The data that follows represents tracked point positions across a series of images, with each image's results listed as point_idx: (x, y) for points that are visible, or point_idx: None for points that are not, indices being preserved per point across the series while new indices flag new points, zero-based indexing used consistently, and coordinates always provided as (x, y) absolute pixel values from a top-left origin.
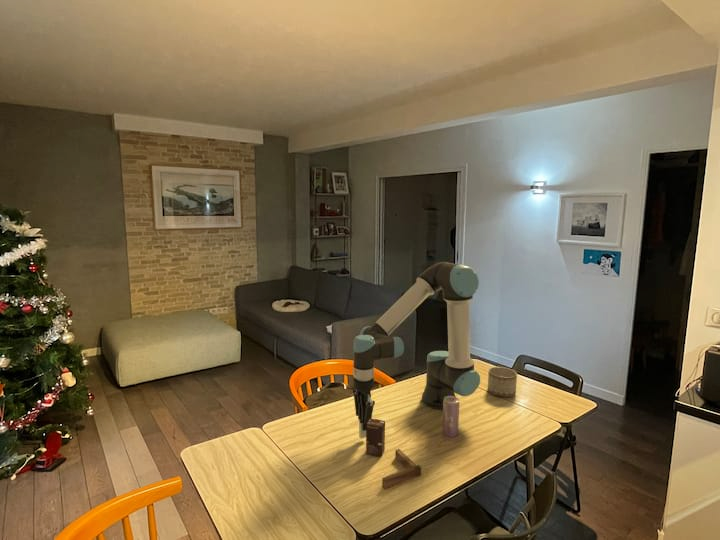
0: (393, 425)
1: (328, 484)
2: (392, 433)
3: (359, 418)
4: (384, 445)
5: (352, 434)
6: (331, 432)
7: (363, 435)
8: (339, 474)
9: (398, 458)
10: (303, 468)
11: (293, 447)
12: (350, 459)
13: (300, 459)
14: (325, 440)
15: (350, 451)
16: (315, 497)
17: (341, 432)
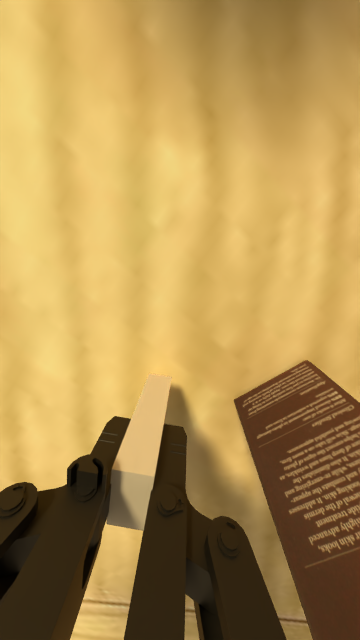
0: (134, 105)
1: (293, 596)
2: (210, 194)
3: (95, 547)
4: (331, 380)
5: (85, 387)
6: (22, 444)
7: (166, 408)
8: (280, 558)
9: None
10: None
11: None
12: (240, 494)
13: (128, 587)
14: None
15: (196, 466)
16: (309, 635)
17: (43, 414)
